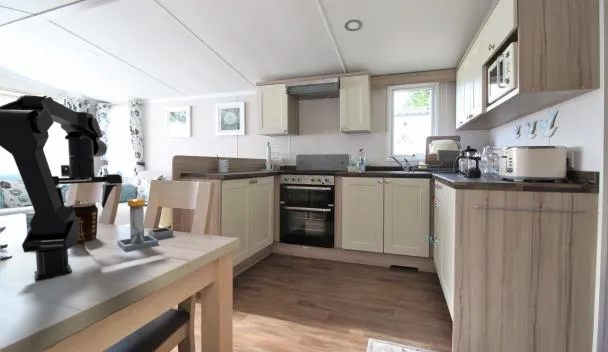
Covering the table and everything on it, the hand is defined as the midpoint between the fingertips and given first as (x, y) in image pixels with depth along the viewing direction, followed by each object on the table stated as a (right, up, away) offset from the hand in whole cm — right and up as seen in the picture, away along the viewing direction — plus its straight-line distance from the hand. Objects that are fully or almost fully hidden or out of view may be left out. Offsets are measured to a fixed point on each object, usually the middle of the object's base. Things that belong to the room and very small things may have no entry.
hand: (84, 209), depth 83 cm
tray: (+13, -13, +4) cm, 19 cm away
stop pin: (+13, -12, +4) cm, 18 cm away
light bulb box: (-21, -13, +12) cm, 27 cm away
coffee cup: (-8, -13, +11) cm, 19 cm away
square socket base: (+16, -12, +15) cm, 25 cm away
